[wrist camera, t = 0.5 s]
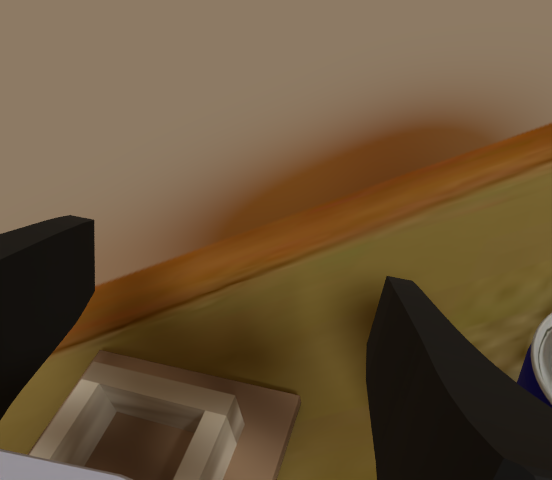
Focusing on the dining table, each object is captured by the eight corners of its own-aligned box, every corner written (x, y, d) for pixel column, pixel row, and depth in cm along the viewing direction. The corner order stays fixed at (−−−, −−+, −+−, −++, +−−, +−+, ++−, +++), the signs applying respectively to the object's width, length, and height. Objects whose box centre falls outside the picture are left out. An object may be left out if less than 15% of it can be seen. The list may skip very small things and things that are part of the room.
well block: (202, 709, 20) (178, 694, 18) (-54, 589, 25) (-102, 564, 22) (301, 403, 30) (294, 365, 27) (103, 357, 34) (83, 321, 32)
